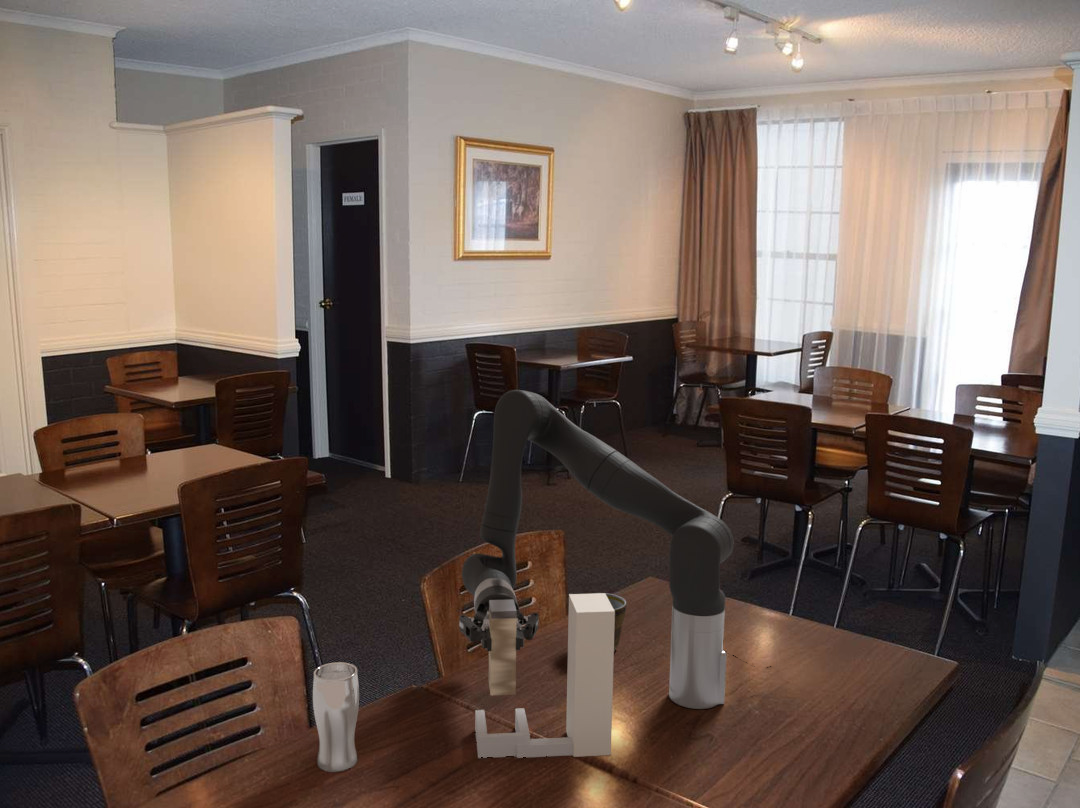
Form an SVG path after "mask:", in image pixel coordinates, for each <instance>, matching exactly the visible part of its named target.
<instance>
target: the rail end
mask: <svg viewBox="0 0 1080 808" xmlns="http://www.w3.org/2000/svg"><path fill="white" fill-rule="evenodd" d="M516 620H517V610H516V607H515V603H514V599H511V600H489V630H490V635H491V640H492V645H491V651H488V687H489V692H490V696H509V695H510V696H511V695H516V692H517V691H516V689H517V687H516V686H517V650H516Z"/></svg>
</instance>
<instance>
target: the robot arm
mask: <svg viewBox="0 0 1080 808" xmlns="http://www.w3.org/2000/svg"><path fill="white" fill-rule="evenodd" d="M496 402H497V403H496V404H495V408H494V416H493V433H492V434H493V438H492V453H491V465H490V476H489V483H488V488H487V489H488V490H487V495H486V500H485V501H486V502H485V504H484V511H483V516H482V521H481V525H480V530H479V538H480V539H481V540H482V541H484V542H485V543H487V544H490V545H492V546H494V547H497V548H498V549H499V550H500V551H501V556H495V555H491V554H484V553H473V554H471V555H469V556H468V557H467V558H466V559H465V561H464V563H463V565H462V570H461V578H462V583H463V585H464V587H465V589H466V591H468V593H469V594H471V596H473V598H474V599H473V609H474V613H475V614H474V615H473V617H471V616H468V615H466V614H460V615H459V617H458V618H459V619H458V620H459V627H458V628H459V631H460V632H461V633H462V634H463V636H464V637H466V639H468V641H470V642H471V643H476V642H478V641H480V642H481V647H482V648H483V649H486V652H489V651H491V645H492V640H491V635H490V630H489V600H511V599H514V603H515V607H516V610H517V620H516V651H521V648H524V646H525V640H526V641H531V640H533V639H534V637H535V636H536V634H537V631H538V629H540V628H539V626H540V625H539V623H540V622H539V621H540V619H539V617H540V613H538V612H532V613H530V614H529V615H527V616H526V615H524V613H523V612H522V611H520V607H519V603H518V600H517V595H516V594H515V591H514V588H515V587H516V584H517V579H518V576H517V575H518V572H517V562H516V539H517V533H518V528H519V522H520V517H521V513H522V507H523V506H522V505H523V487H522V465H523V464H522V462H523V456H524V453H525V452H524V451H525V448H526V444H527V443H528V441H530V442H531V443H534V444H536V445H537V446H539V447H540V448H542V449H544V450H545V451H547V452H548V453H550V454H552V455H553V456H554V457H555V458H557V459H558V460H559V461H560V462H561V463H562V464H563V466H564V467H565V468H566V469H567V471H568V472H569V473H570V475H572V477H573V478H574V479H575V480H576V481H577V482H578V483H579V484H580V485H581V486H582V488H584V489H586V491H588V492H589V493H591V494H592V495H593V496H594V497H596V498H597V499H599V500H600V501H601V502H603V503H604V504H606V505H608V506H609V507H611V508H612V509H615V510H616V511H619V512H622V513H623V514H624V513H625V514H627V515H631V516H634V517H636V518H639V519H642V520H644V521H646V522H649V523H651V524H652V525H656V526H657V527H658V528H660V529H662V530H663V531H664V532H666V533H667V534H668V535H670V536H671V538H670V539H671V540H670V543H669V555H668V556H669V557H668V558H669V559H668V562H669V563H668V570H669V571H668V576H669V577H668V580H669V581H668V583H669V591H670V594H671V597H672V608H671V609H672V610H671V614H672V615H671V635H670V637H671V638H670V660H669V664H670V665H669V683H668V687H669V688H668V689H669V690H668V691H669V692H668V697H669V699H670V700H671V701H672V702H674V703H675V704H676V705H679V706H682V707H684V708H688V709H693V710H694V709H695V710H696V709H697V710H705V709H710V708H713V707H716V706H718V705H723V704H725V697H726V696H725V694H726V693H725V691H726V675H727V673H726V672H727V652H725V651H724V650H723V640H724V632H725V613H726V611H725V610H726V609H725V608H726V596H725V592H724V591H723V590H722V589H720V585H721V584H720V582H721V581H720V577H721V573H720V572H721V564H722V563H723V562H725V561H726V560H727V559H728V558H729V557H730V556H731V554H732V553H733V551H734V545H735V541H734V540H735V539H734V536H733V533H732V531H731V529H730V527H729V526H728V525H727V523H725V522H724V520H722V519H721V518H720V517H718V516H716V515H715V514H713V513H711V512H710V511H707V510H706V509H704V508H702V507H700V506H698V505H697V504H696V503H695V504H694V503H693V502H691V501H690V500H688V499H686V498H684V497H683V496H681V495H679V494H678V493H676V492H674V491H673V490H671V489H670V488H669V487H668V486H666V485H665V484H664V483H662V482H661V481H659V479H657V478H656V477H654V476H653V475H651V474H650V473H648V472H647V471H645V470H644V469H643V468H642V467H640V466H639V465H638V464H636V463H635V462H634V461H632V460H630V458H628V457H627V456H625V455H624V454H622V453H621V452H619V451H618V450H617V449H615V448H613V447H612V446H610V445H608V444H607V443H605V442H604V441H602V440H601V439H599V438H598V437H596V436H594V435H593V434H591V433H589V432H587V431H585V430H583V428H580V427H579V426H578V425H576V424H575V423H573V422H572V421H571V420H570V419H569V418H567V417H566V415H564V414H563V413H561V411H559V410H558V409H557V408H556V407H555V406H554V405H553V404H552V403H550V402H549V401H548V400H547V399H546V398H545V397H543V395H540V394H538V393H536V392H532V391H528V390H522V389H521V390H520V389H511V390H508V391H506V392H505V393H503V395H502V396H500V397H499V399H498V401H496ZM523 625H524V626H523Z"/></svg>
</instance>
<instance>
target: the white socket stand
mask: <svg viewBox="0 0 1080 808" xmlns="http://www.w3.org/2000/svg"><path fill="white" fill-rule="evenodd" d="M597 593H598V594H591V593H569V594H568V624H567V625H568V626H567V628H568V629H567V631H568V632H567V633H568V634H567V637H568V638H567V673H566V674H567V676H566V677H567V678H566V679H567V681H566V683H567V684H566V720H565V723H566V724H565V725H566V726H565V727H566V730H565V731H566V735H567V736H566V737H548V738H531V734H530V730H529V725H528V719H527V715H526V711H525V708H524V707H523V708H521V707H519V708H515V712H514V718H515V719H514V729H515V732H502V733H501V732H500V733H488V729H487V720H486V713H485V709H475V711H474V712H475V713H474V714H475V715H474V716H475V717H474V718H475V719H474V720H475V722H474V724H475V726H474V732H476V733H475V741H476V742H477V743H476V750H477V759H488V758H487V757H493V758H507V757H506V756H514V757H516V759H522V758H523V757H526V758H527V759H528V758H543V757H546V756H547V757H563V756H565V757H566V756H567V757H568V756H573V758H576V757H577V758H579V757H599V756H611V755H612V729H613V727H612V725H613V721H612V720H613V695H614V694H613V691H614V689H613V688H614V685H613V684H614V654H615V651H614V625H615V611H614V609H613V607H612V605H611V603H610V601H609V599H608V598H607V596H606V594H605V592H597ZM481 757H483V758H481ZM523 759H524V758H523Z"/></svg>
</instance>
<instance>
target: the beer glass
mask: <svg viewBox="0 0 1080 808" xmlns="http://www.w3.org/2000/svg"><path fill="white" fill-rule="evenodd" d="M312 681H313V682H312V683H313V684H312V706H313V707H312V708H313V713H314V719H315V724H316V730H317V733H318V740H319V744H318V745H319V747H318V748H319V749H318V755H317V759H316V761H317V763H316V764H317V766H318V768H319V769H320V770H321V771H324V772H328V773H340V772H344V771H345V772H346V771H347V770H349V768H350V769H351V768H353V767H354V766H355V765H356V763H357V762H358V754H357V749H356V747H355V746H356V745H355V732H356V726H357V725H356V724H357V720H358V714H359V704H360V687H359V677H358V667H357V666H356V665H354V664H352V663H348V662H345V661H344V662H342V661H339V662H330V663H329V662H328V663H325V664H322V665H320V666H318V667H317V668H315V669H314V671H313V680H312Z"/></svg>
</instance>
